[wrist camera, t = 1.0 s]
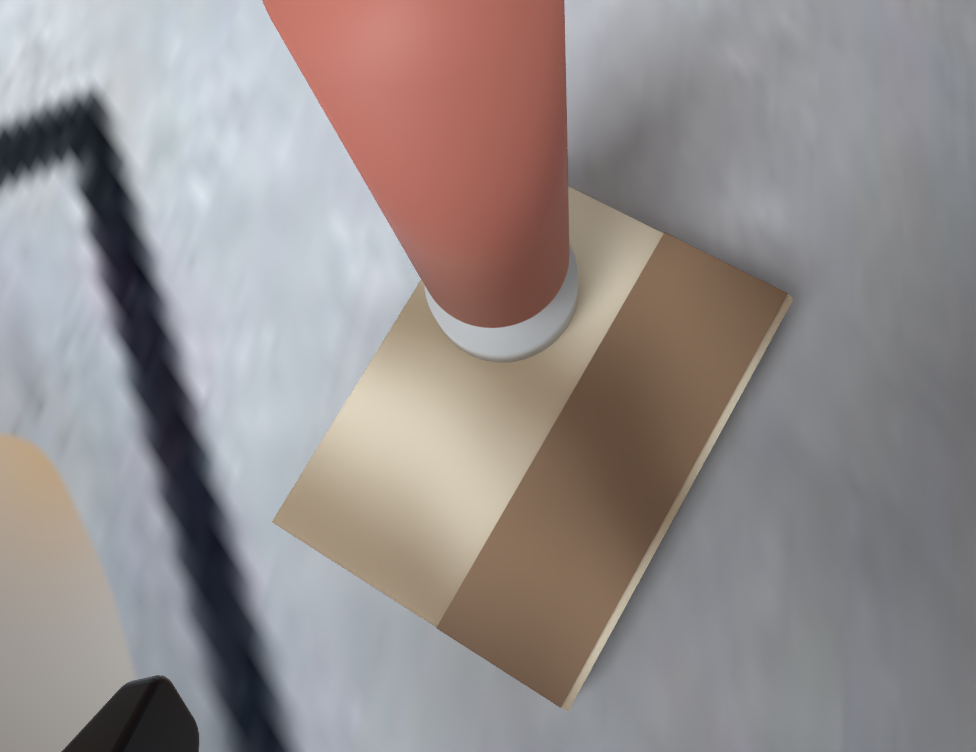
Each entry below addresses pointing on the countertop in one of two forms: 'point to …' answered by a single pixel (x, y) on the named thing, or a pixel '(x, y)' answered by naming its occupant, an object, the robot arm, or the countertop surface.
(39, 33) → the countertop surface
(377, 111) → the pink cylinder white base
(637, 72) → the countertop surface
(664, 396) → the board
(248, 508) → the countertop surface
